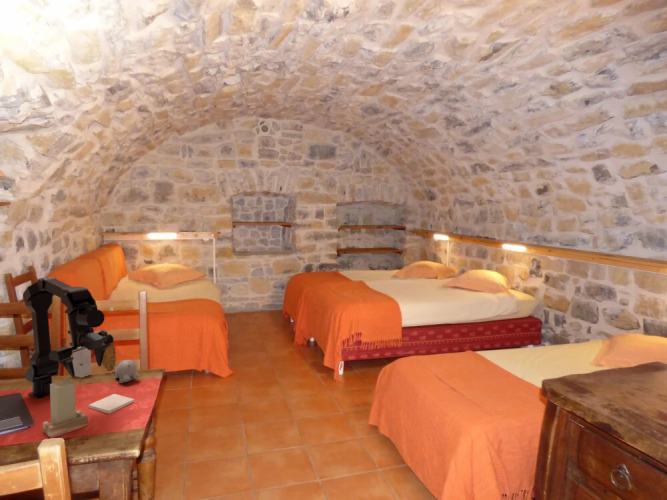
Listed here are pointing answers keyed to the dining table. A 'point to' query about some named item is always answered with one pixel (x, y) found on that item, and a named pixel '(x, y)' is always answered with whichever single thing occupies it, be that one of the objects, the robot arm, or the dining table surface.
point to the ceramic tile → (111, 403)
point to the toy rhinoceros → (126, 371)
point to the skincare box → (82, 362)
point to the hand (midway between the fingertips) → (86, 371)
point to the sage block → (62, 402)
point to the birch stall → (65, 425)
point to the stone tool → (109, 357)
